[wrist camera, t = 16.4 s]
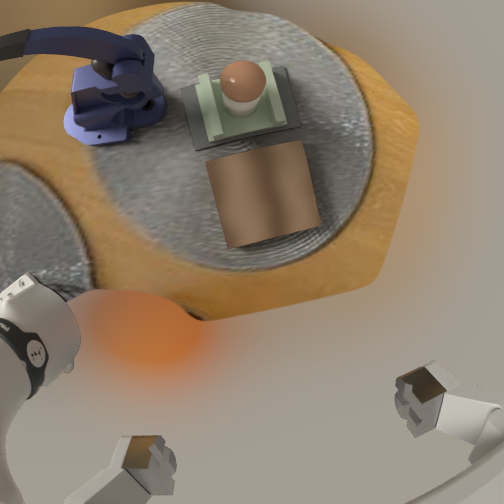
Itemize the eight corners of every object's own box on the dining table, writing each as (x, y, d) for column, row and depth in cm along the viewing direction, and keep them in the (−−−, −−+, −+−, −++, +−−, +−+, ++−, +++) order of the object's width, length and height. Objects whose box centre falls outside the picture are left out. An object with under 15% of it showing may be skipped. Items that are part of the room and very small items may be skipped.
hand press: (179, 76, 33) (105, -69, 5) (177, 136, 35) (63, 45, 7) (60, 98, 31) (-77, 47, 4) (57, 153, 33) (-100, 145, 6)
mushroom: (227, 123, 33) (226, 105, 25) (219, 92, 32) (215, 66, 24) (262, 114, 33) (271, 95, 25) (253, 84, 32) (259, 56, 24)
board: (228, 245, 38) (228, 249, 36) (206, 163, 36) (205, 161, 33) (315, 222, 38) (321, 225, 36) (297, 142, 36) (301, 139, 33)
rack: (209, 142, 35) (206, 137, 31) (195, 87, 33) (192, 77, 29) (285, 125, 35) (292, 118, 31) (270, 71, 33) (274, 59, 29)
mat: (195, 150, 35) (195, 150, 35) (180, 89, 33) (180, 88, 33) (300, 126, 35) (301, 126, 35) (283, 67, 33) (283, 66, 33)
